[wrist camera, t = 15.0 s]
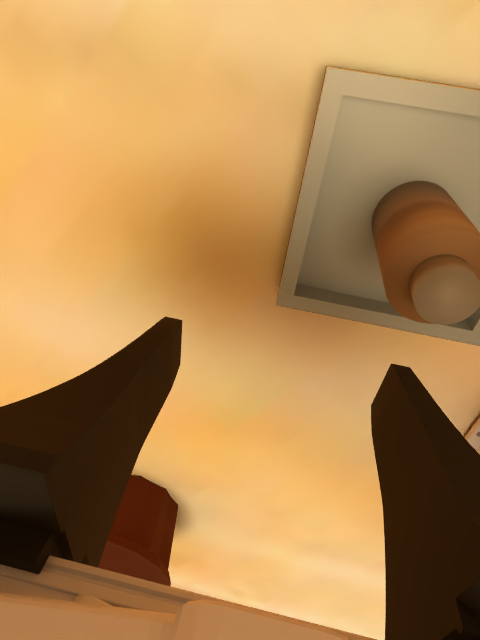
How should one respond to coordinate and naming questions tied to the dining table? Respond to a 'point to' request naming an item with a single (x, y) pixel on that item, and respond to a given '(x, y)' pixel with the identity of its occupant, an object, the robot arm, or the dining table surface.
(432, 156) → the tray
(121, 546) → the muffin
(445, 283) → the orange bottle
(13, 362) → the dining table surface
